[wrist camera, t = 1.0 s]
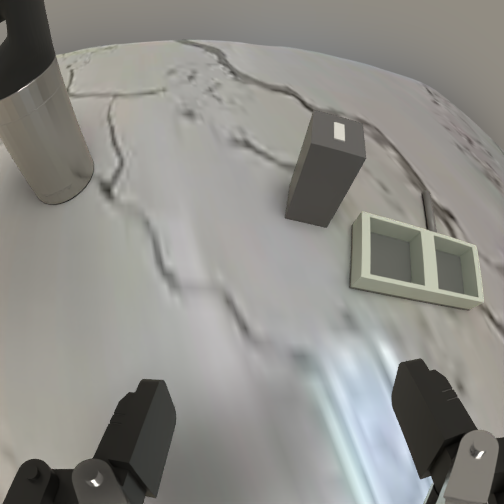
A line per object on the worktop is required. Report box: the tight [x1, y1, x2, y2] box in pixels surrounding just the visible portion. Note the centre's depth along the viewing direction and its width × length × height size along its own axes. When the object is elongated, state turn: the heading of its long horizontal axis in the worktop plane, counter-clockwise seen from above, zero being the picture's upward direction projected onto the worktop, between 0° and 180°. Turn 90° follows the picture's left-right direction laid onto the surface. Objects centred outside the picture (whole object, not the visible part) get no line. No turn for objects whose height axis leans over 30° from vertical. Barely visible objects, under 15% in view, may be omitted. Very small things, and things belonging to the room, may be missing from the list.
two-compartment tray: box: [349, 190, 484, 310], centre depth 35 cm, size 17×18×3 cm
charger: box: [285, 110, 366, 228], centre depth 31 cm, size 5×5×12 cm
